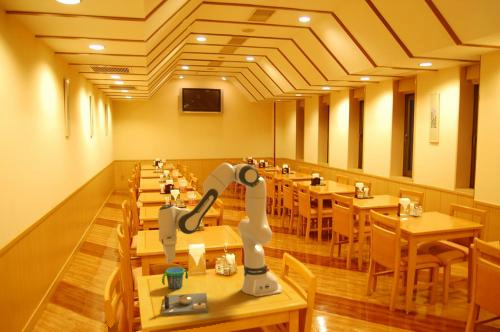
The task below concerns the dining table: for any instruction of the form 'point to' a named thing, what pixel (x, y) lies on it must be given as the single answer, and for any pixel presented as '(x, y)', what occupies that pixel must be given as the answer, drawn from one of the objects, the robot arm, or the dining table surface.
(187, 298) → the ladle
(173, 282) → the snack cup
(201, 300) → the board
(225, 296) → the dining table surface
